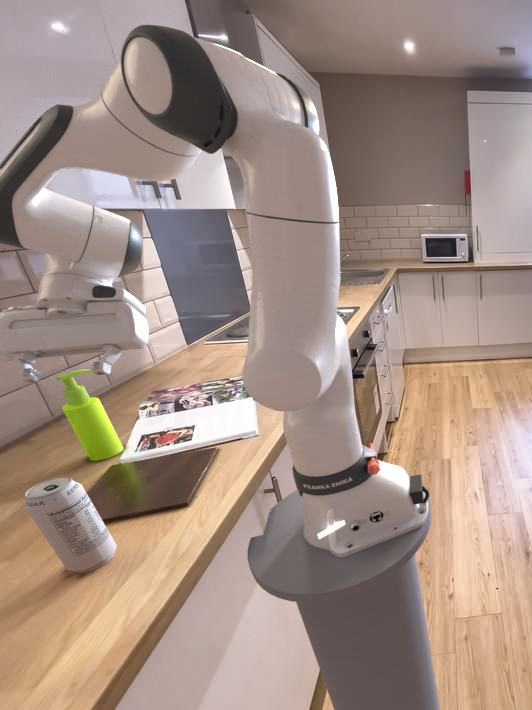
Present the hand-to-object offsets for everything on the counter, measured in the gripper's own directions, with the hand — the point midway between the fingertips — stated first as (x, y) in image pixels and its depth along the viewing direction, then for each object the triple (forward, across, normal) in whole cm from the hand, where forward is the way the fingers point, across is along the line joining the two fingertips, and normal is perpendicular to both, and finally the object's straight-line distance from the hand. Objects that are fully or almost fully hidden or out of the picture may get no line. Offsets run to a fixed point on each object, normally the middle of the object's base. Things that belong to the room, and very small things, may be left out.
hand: (65, 377), depth 66 cm
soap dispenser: (+2, -16, +37) cm, 40 cm away
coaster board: (+14, -1, +25) cm, 28 cm away
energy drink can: (+28, 0, +11) cm, 30 cm away
